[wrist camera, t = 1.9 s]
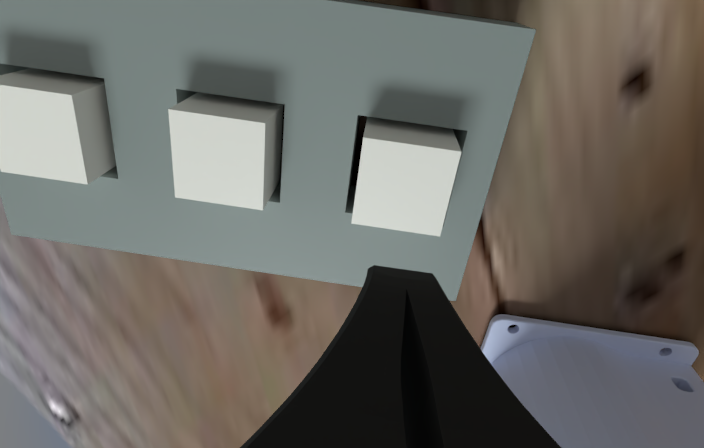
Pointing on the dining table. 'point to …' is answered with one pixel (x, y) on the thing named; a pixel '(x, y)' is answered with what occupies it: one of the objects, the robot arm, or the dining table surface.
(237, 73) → the button board
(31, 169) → the button outer
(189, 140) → the button middle
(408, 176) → the button inner
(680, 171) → the dining table surface
